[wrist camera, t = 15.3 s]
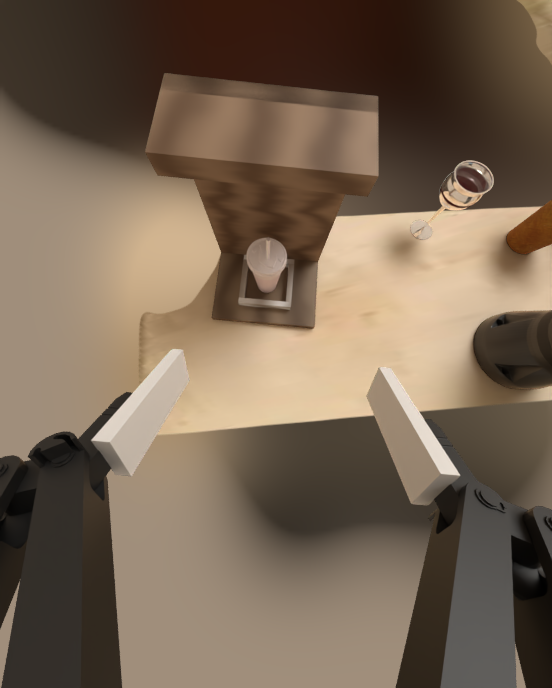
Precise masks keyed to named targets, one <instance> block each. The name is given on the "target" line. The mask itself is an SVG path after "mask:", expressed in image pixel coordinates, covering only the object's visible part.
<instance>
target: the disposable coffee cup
mask: <svg viewBox="0 0 552 688" xmlns="http://www.w3.org/2000/svg"><path fill="white" fill-rule="evenodd" d="M507 243H508V245H509V246H510V248H511V249H512V250H514V251H515V252H517V253H520V254H527V253H530V252H533V251H535V250H538V249H540V248H543V247H545V246H548V245H550V244H552V200H551V201H549V202H548V203H547V204H545V205H544V206H543V207H541V208H540V209H539V210H538V211H536V212H535V213H534V214H532V215H531V216H530V217H528V218H527V219H526V220H524V221H523V222H522V223H520V224H519V225H518V226H517V227H515V228H514V229H513V230H511V231H510V232H509V233H508V235H507Z"/></svg>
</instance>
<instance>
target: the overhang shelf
mask: <svg viewBox="0 0 552 688" xmlns="http://www.w3.org/2000/svg"><path fill="white" fill-rule="evenodd" d="M145 153H146V155H147V157H148V159H149V160H150V162H151V164H152V166H153V168H154V170H155V171H156V173H157V175H158V176H168V177H179V178H188V179H194V181H195V183H196V186H197V189H198V191H199V194H200V197H201V199H202V202H203V205H204V207H205V210H206V213H207V215H208V218H209V220H210V223H211V226H212V229H213V231H214V234H215V237H216V240H217V242H218V245H219V247H220V250H221V258H220V265H219V272H218V278H217V285H216V292H215V299H214V306H213V312H212V318H213V319H218V320H229V321H240V322H251V323H262V324H273V325H284V326H295V327H306V328H314V326H315V307H316V288H317V269H318V260H319V258H320V255H321V253H322V250H323V248H324V245H325V243H326V240H327V238H328V235H329V233H330V230H331V228H332V226H333V223H334V221H335V218H336V216H337V213H338V211H339V208H340V206H341V203H342V201H343V198H344V196H345V194H347V195H358V196H367V197H368V195H369V193H370V191H371V189H372V187H373V185H374V184H375V182H376V180H377V178H378V96H369V95H361V94H351V93H342V92H333V91H323V90H314V89H305V88H296V87H286V86H278V85H268V84H259V83H250V82H241V81H232V80H222V79H213V78H204V77H194V76H186V75H176V74H167V73H165V74H164V77H163V81H162V85H161V89H160V93H159V98H158V101H157V106H156V110H155V114H154V118H153V122H152V126H151V130H150V134H149V139H148V142H147V146H146V150H145ZM267 237H269V238H272V239H275V240H277V241H279V242H280V243H281V244H282V245H283V246H284V248H285V250H286V253H287V262H286V266H285V268H284V269H283V271H281V274H280V277H279V280H278V282H277V285H276V288H275V289H274V290H273V291H272V292H270V293H264V292H262V291H261V290H260V289H259V287H258V285H257V282H256V280H255V277H254V274H253V272H252V271H251V270H250V268H249V266H248V264H247V256H246V255H247V250H248V248H249V246H250V245H251V244H252V243H253V242H254V241H256V240H258V239H260V238H267Z"/></svg>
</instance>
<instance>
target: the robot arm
mask: <svg viewBox="0 0 552 688" xmlns="http://www.w3.org/2000/svg"><path fill="white" fill-rule="evenodd" d="M474 349H475V354H476V357H477V360H478V362H479V364H480V366H481V367H482V369H483V370H484V371H485V373H486V374H487V375H488V376H489V377H490V378H492V379H493V380H494V381H496V382H497V383H499V384H501V385H503V386H505V387H508V388H513V389H540V388H544V387H548V386H552V310H549V311H513V312H506V313H502V314H499V315H495V316H492V317H490V318H488V319H486V320H485V321H484V322H483V323H482V324H481V325H480V326H479V328H478V329H477V332H476V334H475V339H474ZM189 381H190V380H189V375H188V371H187V366H186V361H185V357H184V352H183V350H180V349H171V350H170V351H169V352H168V354H167V355H166V356H165V357H164V358H163V359H162V360H161V362H160V363H159V364H158V365H157V366H156V367H155V368H154V370H153V371H152V372H151V373H150V374H149V375H148V376H147V377H146V379H145V380H144V381H143V382H142V383H141V384H140V385H139V387H138V388H137V389H136V390H135V391H134V392H133V393H129V392H126V393H124V394H123V395H121V396H120V397H118V398H117V399H115V400H114V402H113V403H112V404H111V405H110V406H109V407H108V409H106V410H105V411H104V412H103V413H102V415H100V417H98V418H97V420H96V421H95V422H94V423H93V424H92V425H91V426H90V427H89V428H88V429H87V430H86V431H85V432H84V433H83V434H82V436H81V437H80V438H79V439H77V437H76V436H75V435H74V434H73V433H71V432H60V433H56V434H54V435H51V436H49V437H47V438H45V439H44V440H42V441H41V442H39V443H38V444H37V445H36V446H35V447H34V448H33V449H32V450H31V451H30V453H29V455H28V457H29V458H30V459H31V460H29V461H25V462H24V461H23V460H21V459H20V458H19V457H17V456H5V457H3V458H0V628H1V626H2V623H3V621H4V618H5V616H6V613H7V611H8V608H9V606H10V603H11V601H12V598H13V596H14V593H15V591H16V588H17V586H18V583H19V581H20V586H19V591H18V597H17V602H16V608H15V613H14V619H13V625H12V630H11V636H10V642H9V647H8V653H7V658H6V665H5V670H4V675H3V681H2V687H1V688H122V679H121V666H120V651H119V638H118V623H117V609H116V595H115V580H114V565H113V552H112V538H111V523H110V509H109V494H108V481H107V477H106V475H107V473H108V472H109V471H110V469H112V471H113V472H114V473H115V475H122V476H132V475H133V473H134V471H135V470H136V468H137V466H138V465H139V463H140V461H141V460H142V458H143V456H144V454H145V453H146V451H147V450H148V448H149V446H150V445H151V443H152V441H153V440H154V438H155V436H156V435H157V433H158V432H159V430H160V428H161V427H162V425H163V423H164V422H165V420H166V418H167V417H168V415H169V414H170V412H171V410H172V409H173V407H174V405H175V404H176V402H177V400H178V399H179V397H180V395H181V394H182V392H183V390H184V389H185V387H186V385H187V384H188V382H189ZM367 399H368V401H369V404H370V406H371V408H372V411H373V413H374V416H375V417H376V420H377V423H378V425H379V427H380V430H381V432H382V435H383V437H384V440H385V442H386V444H387V447H388V449H389V452H390V454H391V456H392V459H393V461H394V464H395V466H396V468H397V471H398V473H399V475H400V478H401V480H402V483H403V485H404V488H405V490H406V492H407V494H408V497H409V499H410V502H411V504H419V505H429V504H430V503H431V502H432V501H433V500H435V502H436V503H437V506H438V509H437V510H435V511H434V512H433V513H432V514H431V515H430V516H429V517H428V519H429V520H432V519H433V518H434V522H433V526H432V531H431V535H430V539H429V543H428V548H427V552H426V556H425V561H424V566H423V570H422V574H421V578H420V583H419V587H418V592H417V596H416V601H415V605H414V609H413V614H412V618H411V622H410V627H409V632H408V636H407V640H406V645H405V649H404V653H403V658H402V662H401V667H400V671H399V675H398V680H397V684H396V688H516V663H515V662H516V661H515V644H516V648H517V652H518V656H519V660H520V664H521V669H522V673H523V677H524V681H525V685H526V688H552V510H551V509H548V508H545V507H542V506H536V507H534V508H532V509H530V510H526V509H524V508H521V507H518V506H516V505H513V504H511V503H509V502H506V501H504V500H503V499H502V498H501V497H500V496H499V495H498V494H497V493H496V492H495V491H494V490H492V489H491V488H489V487H488V486H486V485H484V484H482V483H480V482H478V480H477V479H476V478H475V477H474V475H473V474H472V472H471V471H470V469H469V468H468V467H467V465H466V464H465V462H464V461H463V459H462V458H461V457H460V455H459V454H458V452H457V451H456V450H455V448H453V445H452V444H451V442H450V441H449V440H447V437H446V435H445V434H444V433H443V431H442V430H441V428H440V427H439V426H437V425H436V424H435V423H434V422H433V421H432V420H431V419H423V417H422V416H421V414H420V412H419V411H418V409H417V408H416V406H415V405H414V403H413V402H412V400H411V399H410V397H409V396H408V394H407V392H406V391H405V389H404V388H403V386H402V385H401V383H400V382H399V380H398V379H397V377H396V376H395V374H394V372H393V371H392V369H391V368H385V367H379V368H378V370H377V373H376V375H375V377H374V380H373V382H372V385H371V387H370V389H369V392H368V394H367ZM20 578H21V579H20Z"/></svg>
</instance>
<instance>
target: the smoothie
mask: <svg viewBox="0 0 552 688" xmlns="http://www.w3.org/2000/svg"><path fill="white" fill-rule="evenodd" d="M246 256H247V264H248V266H249V268H250V270H251V271H252V272H253V274H254V277H255V280H256V282H257V285H258V287H259V289H260V290H261V291H262V292H264V293H270V292H272V291H273V290H274V289H275V288H276V285H277V282H278V280H279V277H280V274H281V271H283V269H284V268H285V266H286V262H287V253H286V250H285V248H284V246H283V245H282V244H281V243H280V242H279V241H277V240H275V239H272V238H269V237H267V238H260V239H258V240H256V241H254V242H253V243H252V244H251V245H250V246H249V248H248V250H247V255H246Z"/></svg>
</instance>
